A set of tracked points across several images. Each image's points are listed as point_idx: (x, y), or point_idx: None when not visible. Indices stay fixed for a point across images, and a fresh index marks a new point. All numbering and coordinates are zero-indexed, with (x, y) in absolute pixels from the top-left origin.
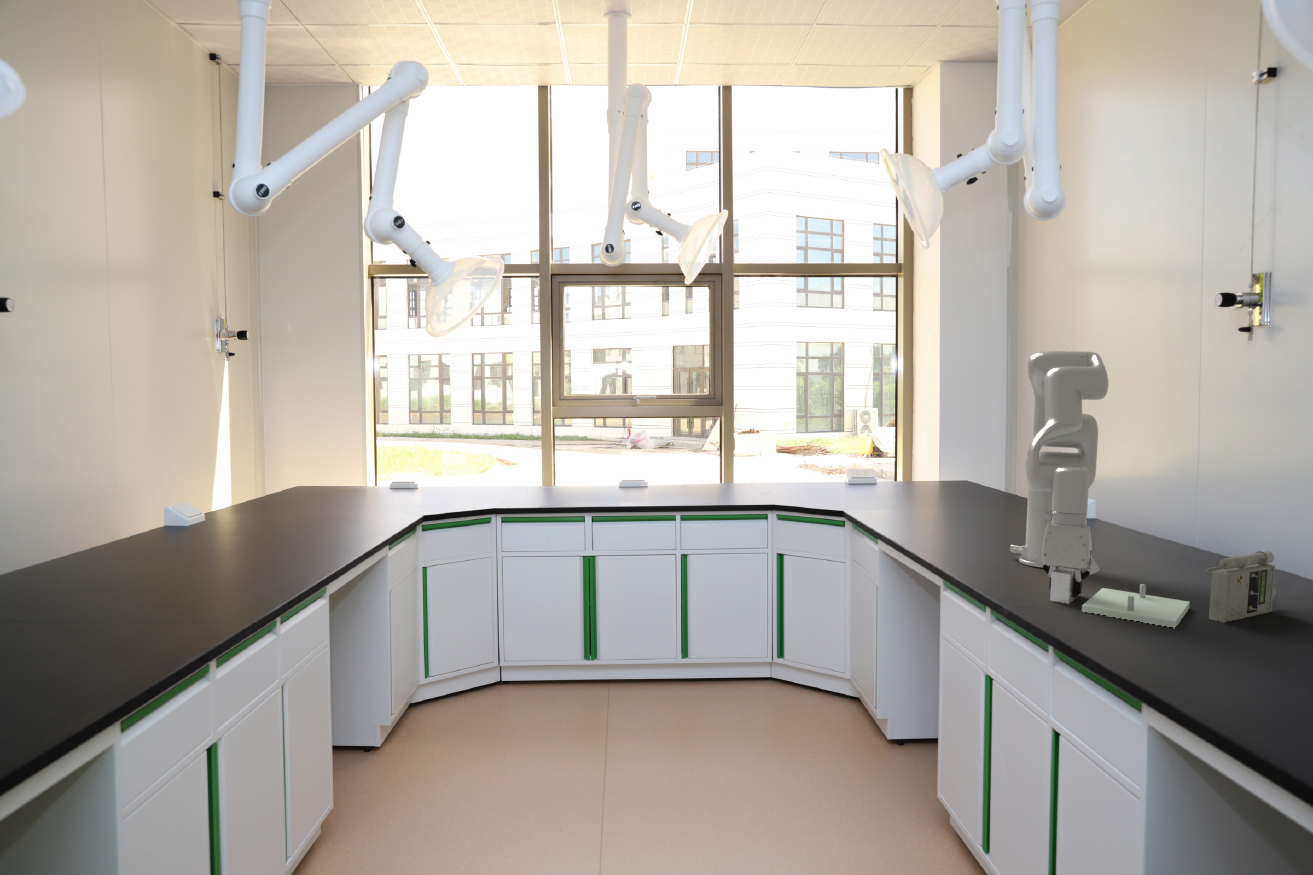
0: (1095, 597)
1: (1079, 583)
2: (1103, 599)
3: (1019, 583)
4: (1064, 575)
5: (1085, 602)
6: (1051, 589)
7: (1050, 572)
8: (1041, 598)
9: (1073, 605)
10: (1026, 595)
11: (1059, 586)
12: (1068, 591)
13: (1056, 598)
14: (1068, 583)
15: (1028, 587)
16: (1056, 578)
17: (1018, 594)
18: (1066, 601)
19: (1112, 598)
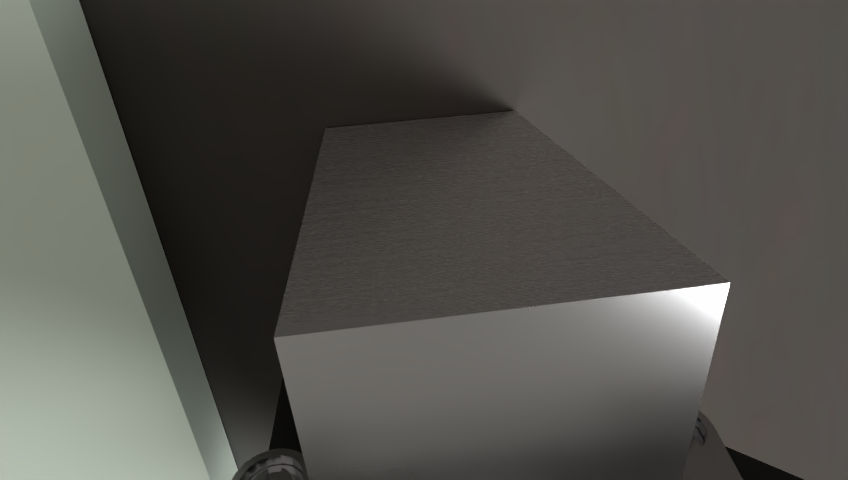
0: (132, 371)
1: (279, 448)
2: (33, 360)
3: (815, 442)
4: (406, 289)
5: (56, 68)
6: (549, 145)
7: (702, 456)
8: (608, 141)
9: (263, 113)
10: (753, 142)
11: (458, 181)
12: (322, 176)
13: (457, 123)
14: (319, 226)
15: (749, 396)
16: (549, 227)
17: (828, 119)
18: (347, 133)
19: (11, 450)
